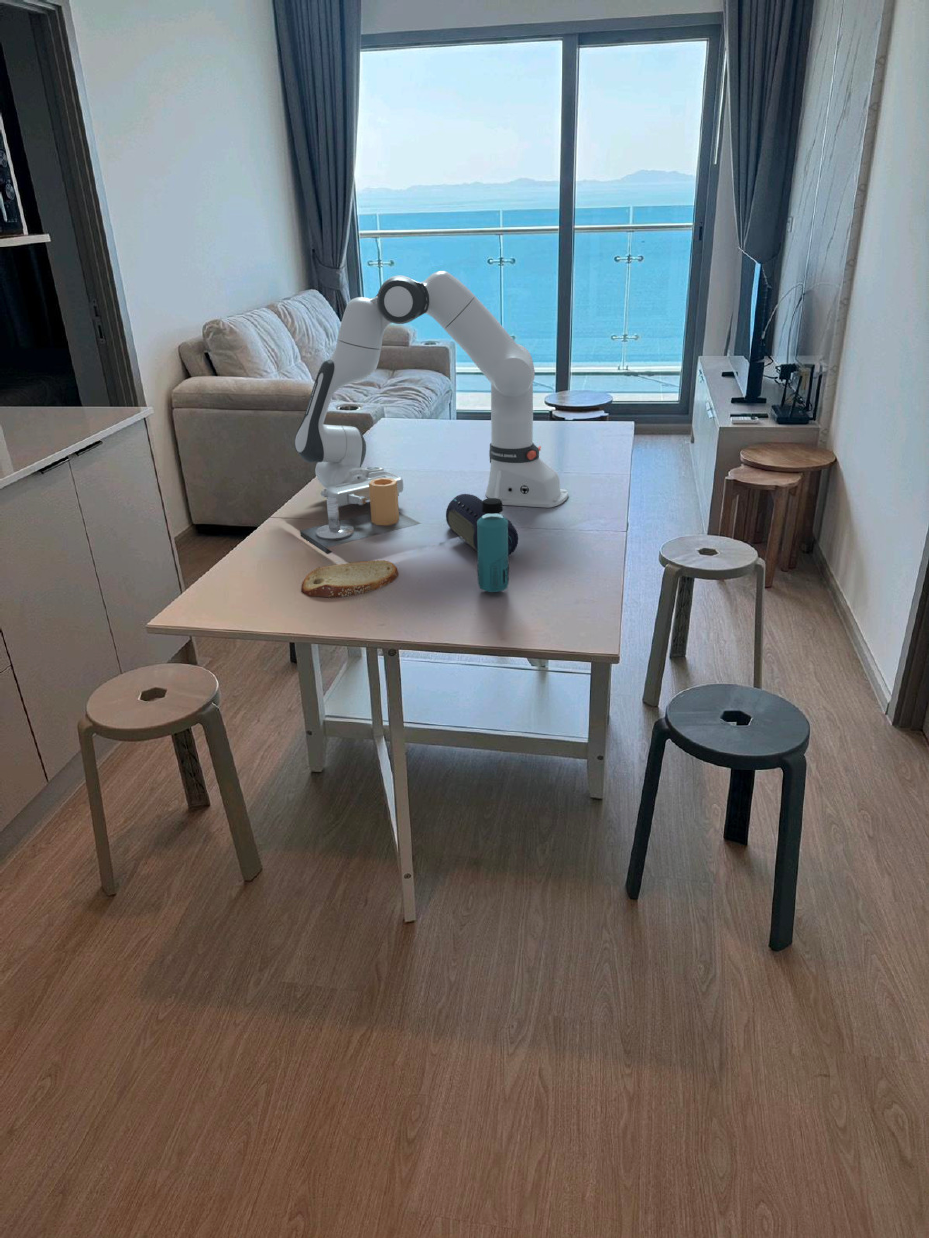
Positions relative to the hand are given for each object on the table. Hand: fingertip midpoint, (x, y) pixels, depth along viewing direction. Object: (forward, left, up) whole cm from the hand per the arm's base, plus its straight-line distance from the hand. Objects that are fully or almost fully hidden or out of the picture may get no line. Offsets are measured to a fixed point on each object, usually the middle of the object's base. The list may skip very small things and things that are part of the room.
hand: (380, 497), depth 206 cm
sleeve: (-2, +1, -5) cm, 6 cm away
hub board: (+2, +7, -7) cm, 10 cm away
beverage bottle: (-42, +27, -7) cm, 50 cm away
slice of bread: (-11, +33, -8) cm, 36 cm away
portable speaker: (-29, +4, -7) cm, 30 cm away
